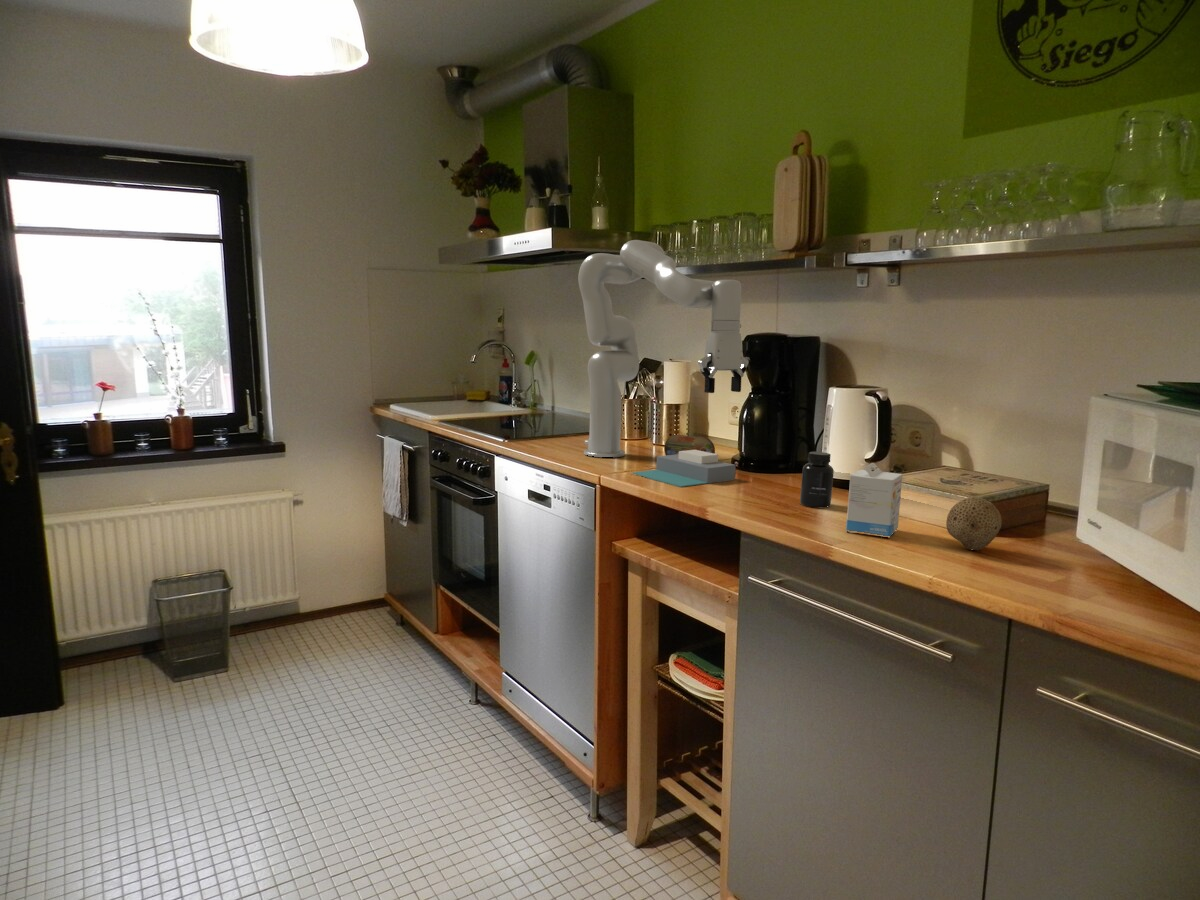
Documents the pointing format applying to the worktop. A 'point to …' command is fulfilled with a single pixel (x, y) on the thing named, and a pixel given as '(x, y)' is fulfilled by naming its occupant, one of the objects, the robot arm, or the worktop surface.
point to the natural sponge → (974, 522)
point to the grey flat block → (696, 469)
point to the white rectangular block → (698, 456)
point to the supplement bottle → (817, 480)
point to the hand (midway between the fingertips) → (722, 392)
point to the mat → (669, 478)
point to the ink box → (874, 501)
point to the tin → (688, 444)
